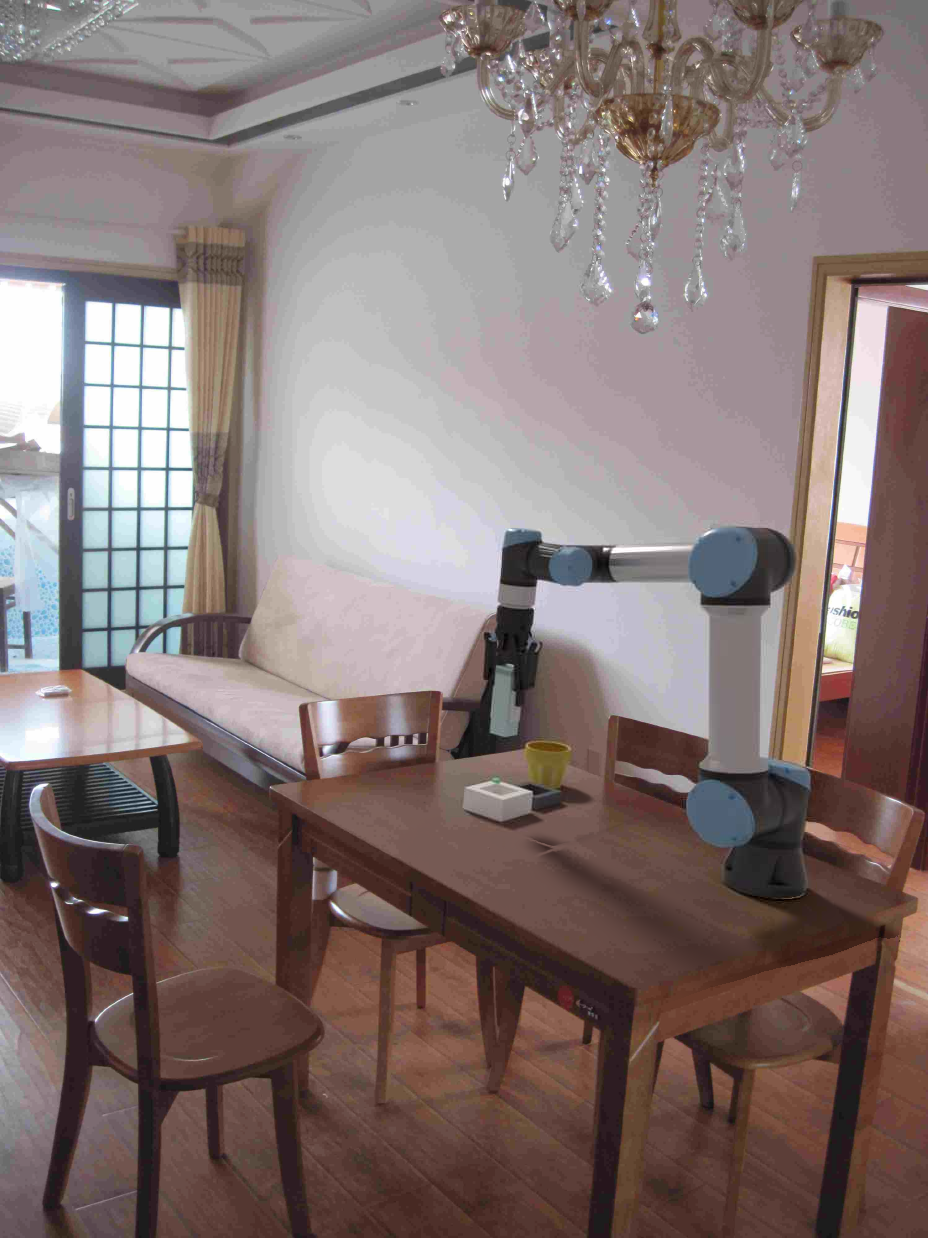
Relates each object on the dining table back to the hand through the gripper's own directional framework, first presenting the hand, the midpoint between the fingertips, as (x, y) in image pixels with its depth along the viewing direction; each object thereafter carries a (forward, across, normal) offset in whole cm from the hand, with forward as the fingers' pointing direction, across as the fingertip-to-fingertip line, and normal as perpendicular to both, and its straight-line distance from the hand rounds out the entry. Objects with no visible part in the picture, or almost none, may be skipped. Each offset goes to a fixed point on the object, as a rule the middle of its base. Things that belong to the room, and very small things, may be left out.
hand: (504, 718), depth 234 cm
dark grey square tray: (+20, 0, -12) cm, 23 cm away
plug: (+3, 0, 0) cm, 3 cm away
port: (+20, 0, 0) cm, 20 cm away
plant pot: (+21, +6, -25) cm, 33 cm away
